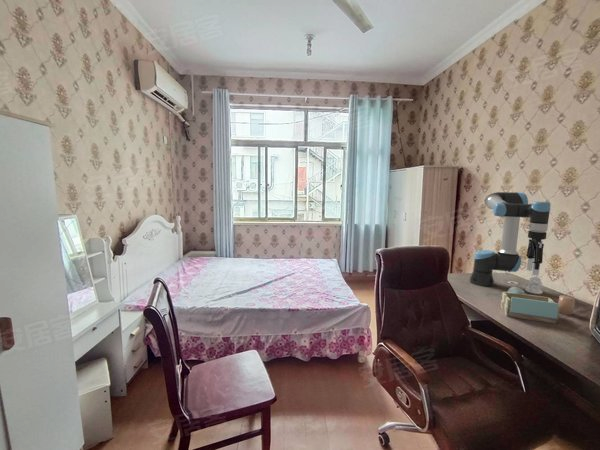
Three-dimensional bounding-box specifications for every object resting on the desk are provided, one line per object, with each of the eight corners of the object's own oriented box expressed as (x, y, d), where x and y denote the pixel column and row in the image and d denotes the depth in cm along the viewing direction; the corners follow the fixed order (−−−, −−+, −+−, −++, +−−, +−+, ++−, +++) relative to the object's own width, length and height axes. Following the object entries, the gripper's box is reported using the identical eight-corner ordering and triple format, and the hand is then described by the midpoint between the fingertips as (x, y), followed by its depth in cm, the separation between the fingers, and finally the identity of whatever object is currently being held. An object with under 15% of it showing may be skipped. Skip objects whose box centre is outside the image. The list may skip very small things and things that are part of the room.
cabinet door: (509, 312, 157) (511, 296, 156) (556, 319, 150) (558, 303, 149) (510, 313, 156) (511, 297, 155) (557, 320, 148) (559, 303, 148)
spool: (530, 302, 168) (522, 285, 172) (511, 306, 173) (503, 289, 176) (529, 300, 179) (521, 284, 183) (511, 304, 184) (503, 288, 187)
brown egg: (555, 309, 167) (557, 294, 166) (569, 311, 165) (571, 296, 163) (559, 314, 161) (562, 298, 160) (574, 316, 159) (577, 300, 158)
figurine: (522, 287, 203) (524, 272, 201) (539, 289, 199) (541, 274, 198) (527, 293, 192) (529, 277, 190) (545, 295, 188) (547, 279, 187)
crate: (500, 306, 171) (502, 291, 170) (547, 312, 163) (549, 297, 161) (506, 316, 158) (508, 300, 157) (557, 324, 150) (560, 307, 149)
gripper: (522, 227, 166) (517, 266, 169) (535, 233, 146) (530, 277, 150) (539, 228, 163) (533, 268, 166) (554, 234, 143) (548, 279, 147)
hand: (532, 272), depth 158 cm, fingers open, 9 cm apart
